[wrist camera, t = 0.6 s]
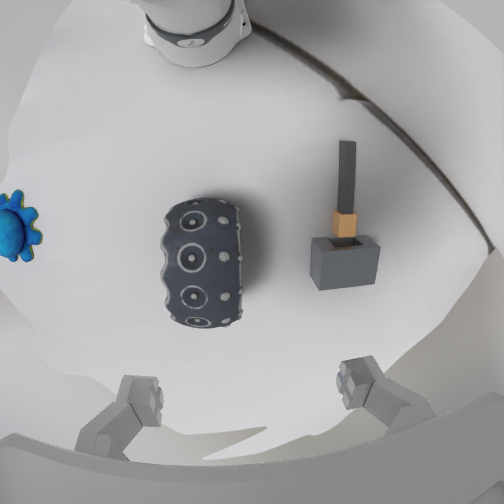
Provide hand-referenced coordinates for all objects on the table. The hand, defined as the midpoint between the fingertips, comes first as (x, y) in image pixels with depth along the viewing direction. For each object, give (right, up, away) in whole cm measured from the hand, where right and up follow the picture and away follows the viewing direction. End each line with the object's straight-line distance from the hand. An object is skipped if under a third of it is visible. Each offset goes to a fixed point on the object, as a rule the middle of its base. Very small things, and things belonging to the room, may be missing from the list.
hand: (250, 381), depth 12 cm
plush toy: (-53, +11, +36) cm, 65 cm away
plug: (+17, +18, +41) cm, 48 cm away
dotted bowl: (-8, +8, +42) cm, 44 cm away
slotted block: (+18, +5, +46) cm, 50 cm away
